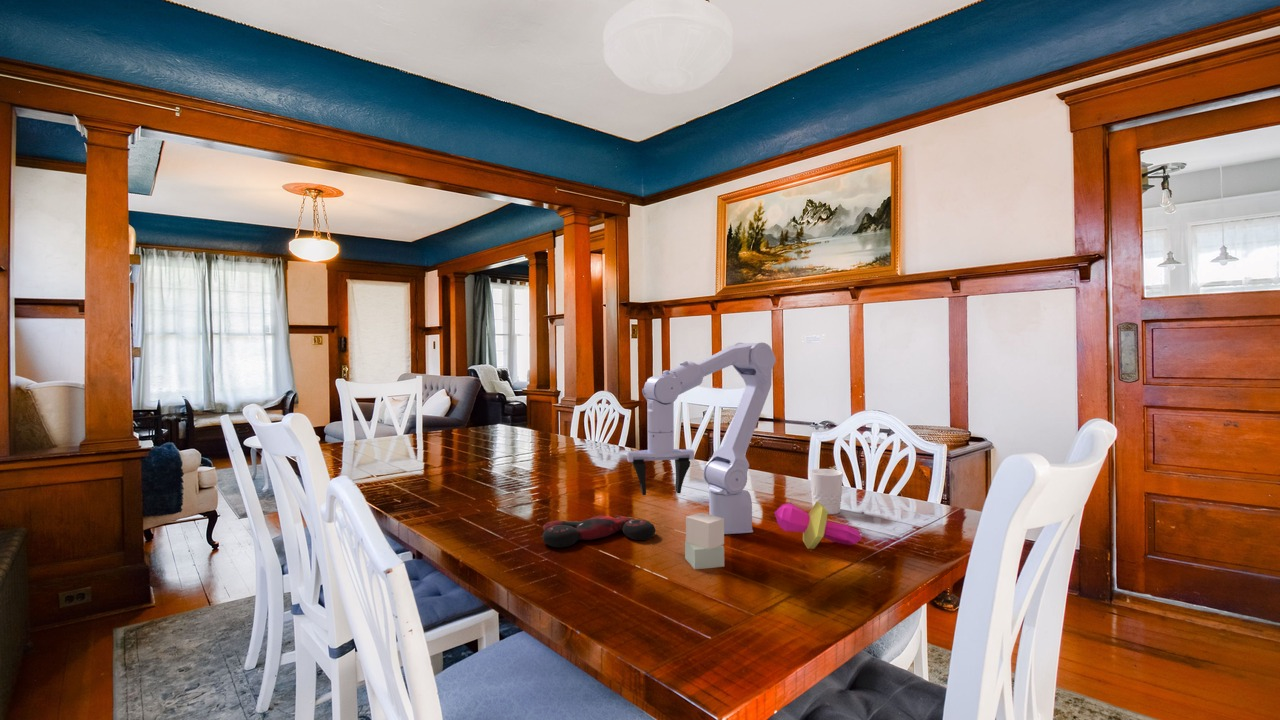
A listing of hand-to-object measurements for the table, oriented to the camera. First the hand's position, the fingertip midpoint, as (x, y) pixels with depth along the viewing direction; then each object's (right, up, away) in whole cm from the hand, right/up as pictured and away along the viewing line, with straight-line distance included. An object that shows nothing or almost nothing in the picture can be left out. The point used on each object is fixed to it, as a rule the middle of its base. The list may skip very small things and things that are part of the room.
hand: (660, 493), depth 127 cm
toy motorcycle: (-14, -11, +5) cm, 19 cm away
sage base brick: (+8, -11, -13) cm, 19 cm away
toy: (+33, -11, -4) cm, 35 cm away
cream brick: (+8, -7, -13) cm, 16 cm away
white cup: (+43, -10, +22) cm, 50 cm away
